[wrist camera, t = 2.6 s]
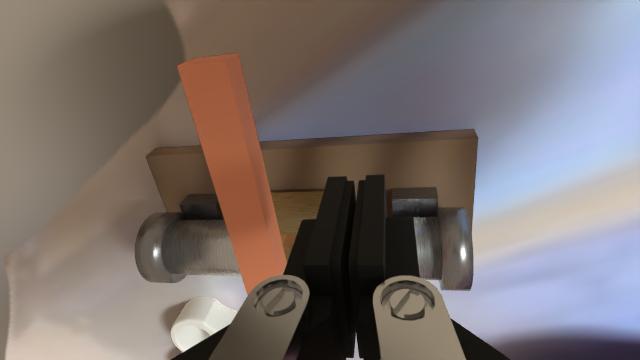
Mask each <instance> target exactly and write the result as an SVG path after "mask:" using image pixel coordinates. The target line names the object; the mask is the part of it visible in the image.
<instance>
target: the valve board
mask: <svg viewBox="0 0 640 360" xmlns="http://www.w3.org/2000/svg"><path fill="white" fill-rule="evenodd" d="M259 144H260V148H261V153H262V157H263V161H264V166H265V170H266V175H267V179H268V183H269V188H270V192H271V193H282V192H317V191H324V189H325V185H326V182H327V178H328V177H337V176H347V180H348V181H353V180H354V185H355V194H356V199H357V191H358V183H359V180H365V179H366V175H380V174H384V175H385V189H386V205H387V217H393V211H392V188H415V187H436V188H437V194H438V207H465V209H466V211H467V213H468V217H469V222H470V227H471V234H472V219H473V204H474V189H475V175H476V160H477V145H478V137H477V135H476V133H475V131H474V129H466V130H449V131H433V132H416V133H400V134H383V135H366V136H350V137H333V138H317V139H300V140H283V141H267V142H259ZM146 159H147V162H148V164H149V167H150V169H151V172H152V174H153V177H154V179H155V182H156V185H157V187H158V190H159V192H160V195H161V197H162V200H163V202H164V205H165V208H166V210H167V212H180V213H182V211H181V208H180V206H179V204H180V203H181V202H182V201H183V200H184V199H185V197H186V196H187V195H188V194H214V193H216V191H215V188H214V185H213V181H212V178H211V175H210V172H209V168H208V165H207V162H206V159H205V155H204V152H203V149H202V146H184V147H167V148H156V149H154V150H153V151H152V152H150V153H149V154H148V155H146Z"/></svg>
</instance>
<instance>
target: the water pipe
mask: <svg viewBox="0 0 640 360" xmlns="http://www.w3.org/2000/svg"><path fill="white" fill-rule="evenodd" d="M323 192H324V191H317V192H282V193H271V196H272V201H273V205H274V209H275V214H276V218H277V222H278V227H279V231H280V235H281V240H282V244H283V249H284V253H285V257H286V262H288V259H289V256H290V253H291V250H292V247H293V244H294V241H295V238H296V235H297V232H298V230H299V227H300V224H301V222H302V220H304V219H316V217H317V213H318V210H319V206H320V203H321V199H322V196H323ZM179 206H180V208H181V211H182V213H180V212H166V213H155V214H152V215H151V216H149V217H148V218H147V219H146V220H145V221H144V223H143V224H142V226H141V228H140V230H139V232H138V235H137V238H136V244H135V260H136V264H137V268H138V270H139V272H140V274H141V275H142V277H143V278H144V279H146V280H147V281H149V282H157V283H176V282H179V281H181V280H182V279H183V278H184V277H185V276H186V275H222V276H242V275H241V272H240V269H239V265H238V262H237V259H236V256H235V252H234V249H233V246H232V243H231V239H230V236H229V233H228V230H227V227H226V223H225V220H224V217H223V214H222V210H221V207H220V204H219V201H218V197H217V194H216V193H214V194H188V195H187V196H186V197H185V199H184V200H183V201H182V202H181V203H180V204H179ZM392 211H393V217H413V219H414V228H415V237H416V246H417V255H418V264H419V273H420V278H422V279H424V280H439V283H440V287H441V290H459V291H470V290H471V287H472V281H473V245H472V235H471V227H470V222H469V217H468V213H467V211H466V209H465V207H438V194H437V188H436V187H415V188H392Z"/></svg>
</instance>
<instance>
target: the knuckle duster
mask: <svg viewBox="0 0 640 360" xmlns="http://www.w3.org/2000/svg"><path fill="white" fill-rule="evenodd" d="M237 313H238V311H235V310H232V309H229V308H227V307H225V306H224V305H222V304H221V303H220V302H218V301H217V300H216V299H214V298H210V297H197V298H193V299H191V300H189V301H188V302H187V303H186V305H185V306H184V308H183V309H182V311H181V313H180V314H179V316H178V318H177V319H176V321H175V322H174V324H173V326H172V328H171V338H172V341H173V342H174V344H175V345H176V347H177V348H178V349H179V350H180V351H182V352H181V353H183V352H184V351H186V350H188V349H189V348H191V347H193V346H194V345H196V344H198V343H199V342H201V341H203V340H204V339H206V338H207V337H209V336H211V335H212V334H214V333H216V332H217V331H219V330H221V329H222V328H224V327H226V326H227V325H229V324H231V322H232V321H233V319H234V317H235V316H236V314H237ZM200 328H201V329H200ZM202 329H203V330H202ZM181 353H180V354H181Z"/></svg>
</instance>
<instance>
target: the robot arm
mask: <svg viewBox="0 0 640 360" xmlns="http://www.w3.org/2000/svg"><path fill="white" fill-rule="evenodd" d="M356 335H357V343H358V350H359V357H360V358H364V360H510V359H509V358H508V357H506V356H505V355H503V354H502V353H500V352H499V351H497V350H496V349H494V348H493V347H492V346H490V345H489V344H487V343H486V342H484V341H483V340H481V339H480V338H478V337H477V336H476V335H474V334H473V333H471V332H470V331H468V330H467V329H465V328H464V327H462V326H461V325H460V324H458V323H457V322H455V321H454V320H452V319H451V318H450V316H449V314H448V311H447V308H446V306H445V303H444V300H443V298H442V295H441V294H440V292H439V291H438V289H437V288H436V287H435V286H434V285H433V284H431V283H430V282H428V281H426V280H424V279H422V278H420V273H419V264H418V255H417V246H416V237H415V228H414V219H413V217H387V205H386V189H385V175H384V174H380V175H366V179H365V180H359V183H358V191H357V199H356V194H355V185H354V180H353V181H348V180H347V176H337V177H328V178H327V182H326V185H325V189H324V192H323V196H322V199H321V203H320V206H319V210H318V213H317V217H316V219H304V220H302V222H301V224H300V227H299V230H298V232H297V235H296V238H295V241H294V244H293V247H292V250H291V253H290V256H289V259H288V262H287V265H286V268H285V271H284V273H283V275H278V276H274V277H270V278H268V279H266V280H264V281H262V282H261V283H259V284H258V285H256V286H255V287H254V288H253V290H252V291H251V292H250V293H249V295H248V297H247V298H246V300H245V301H244V303H243V305H242V306H241V308H240V309H239V311H238V313H237V314H236V316H235V317H234V319H233V321H232V322H231V324H229V325H227V326H226V327H224V328H222V329H221V330H219V331H217V332H216V333H214V334H212V335H211V336H209V337H207V338H206V339H204V340H203V341H201V342H199V343H198V344H196V345H194V346H193V347H191V348H189V349H188V350H186V351H184V352H183V353H181V354H179V355H178V356H176V357H174V358H173V359H171V360H346V358H353V357H354V348H355V336H356Z"/></svg>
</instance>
